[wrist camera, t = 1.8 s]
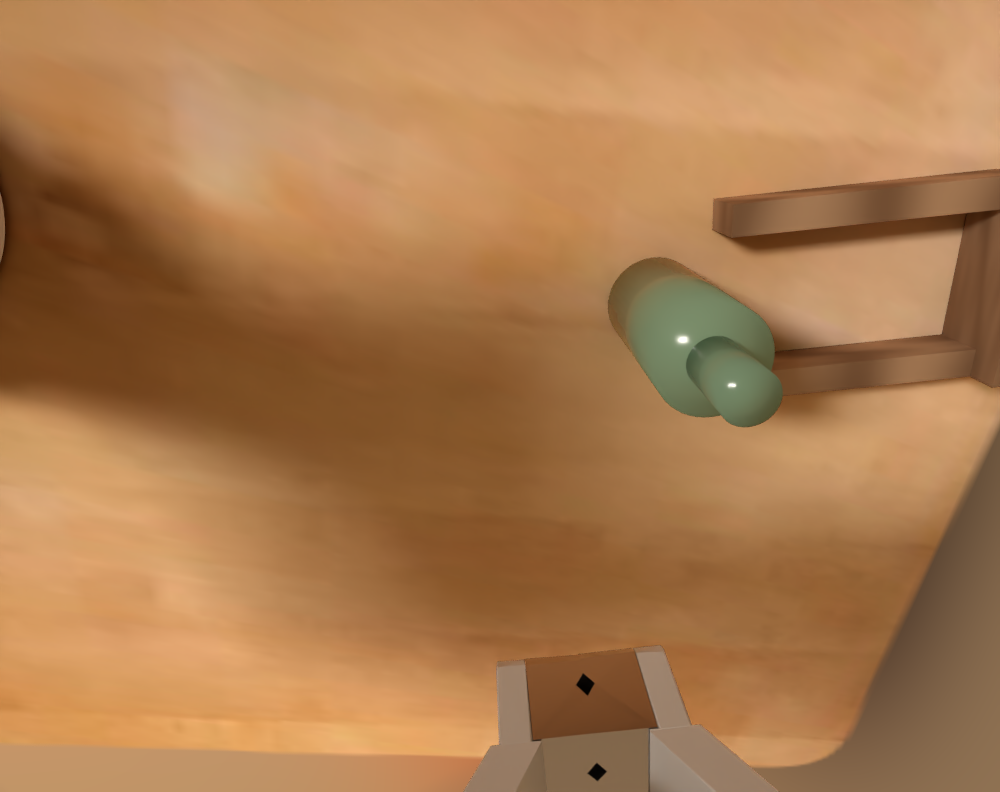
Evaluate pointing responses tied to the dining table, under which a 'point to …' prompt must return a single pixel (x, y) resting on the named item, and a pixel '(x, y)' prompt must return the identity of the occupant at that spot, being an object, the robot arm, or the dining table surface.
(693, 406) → the bottle
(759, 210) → the cradle
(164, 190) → the dining table surface
